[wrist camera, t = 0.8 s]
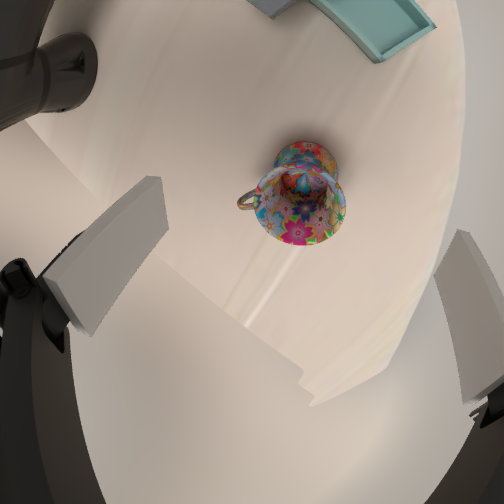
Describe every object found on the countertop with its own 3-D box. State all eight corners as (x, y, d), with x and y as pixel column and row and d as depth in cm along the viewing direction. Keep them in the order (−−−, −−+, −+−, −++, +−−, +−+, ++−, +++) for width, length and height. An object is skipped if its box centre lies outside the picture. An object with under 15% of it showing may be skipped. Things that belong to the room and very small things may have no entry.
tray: (302, -5, 19) (298, -16, 16) (353, -38, 14) (357, -51, 11) (373, 63, 23) (381, 62, 20) (423, 31, 18) (436, 27, 14)
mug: (335, 133, 30) (340, 159, 22) (344, 198, 35) (348, 243, 27) (245, 146, 34) (217, 175, 26) (261, 205, 39) (242, 249, 31)
